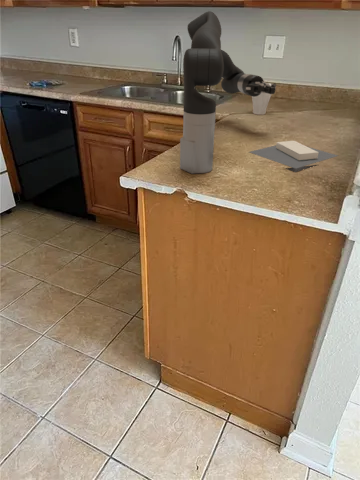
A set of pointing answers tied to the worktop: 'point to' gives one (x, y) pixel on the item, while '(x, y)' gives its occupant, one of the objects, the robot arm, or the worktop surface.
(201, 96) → the robot arm
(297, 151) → the tile
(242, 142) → the worktop surface
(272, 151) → the mat
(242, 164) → the worktop surface
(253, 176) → the worktop surface
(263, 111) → the cup
